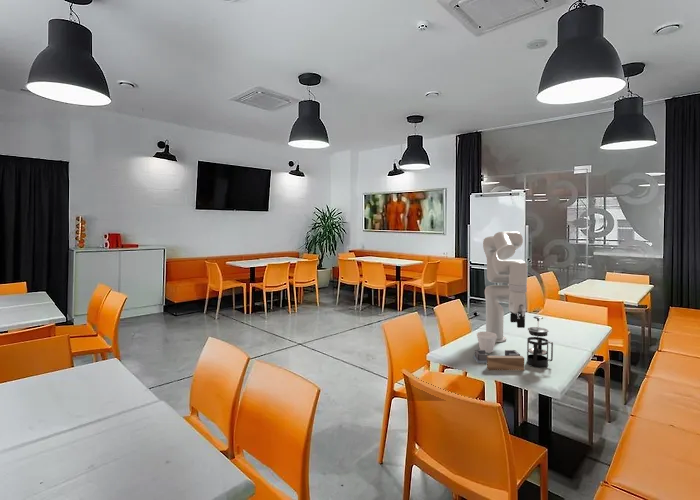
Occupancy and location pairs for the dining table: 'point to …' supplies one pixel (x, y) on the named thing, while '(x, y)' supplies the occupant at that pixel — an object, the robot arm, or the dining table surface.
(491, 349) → the cup
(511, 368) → the slat
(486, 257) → the robot arm
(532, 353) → the french press
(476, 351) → the cradle
